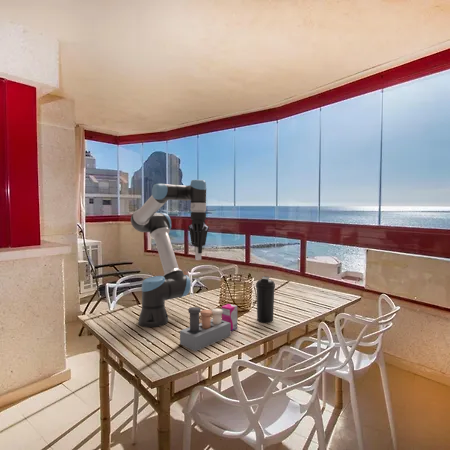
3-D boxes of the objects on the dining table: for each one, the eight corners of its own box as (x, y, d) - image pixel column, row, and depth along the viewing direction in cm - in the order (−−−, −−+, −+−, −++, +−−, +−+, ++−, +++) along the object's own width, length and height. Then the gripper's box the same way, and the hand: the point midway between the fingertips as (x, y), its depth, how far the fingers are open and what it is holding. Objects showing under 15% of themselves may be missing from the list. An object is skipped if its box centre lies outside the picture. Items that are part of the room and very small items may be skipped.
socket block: (179, 344, 128) (179, 330, 128) (215, 329, 144) (215, 317, 144) (195, 351, 121) (195, 337, 121) (230, 335, 137) (230, 322, 137)
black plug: (185, 330, 127) (185, 309, 127) (195, 326, 131) (195, 306, 131) (193, 333, 124) (193, 311, 123) (202, 329, 127) (203, 308, 127)
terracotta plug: (198, 331, 132) (198, 311, 132) (206, 328, 136) (206, 308, 136) (205, 334, 129) (206, 314, 129) (214, 331, 133) (214, 311, 132)
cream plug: (209, 329, 138) (209, 310, 137) (216, 326, 141) (216, 307, 141) (217, 332, 134) (217, 312, 134) (224, 329, 138) (224, 310, 138)
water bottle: (275, 317, 161) (276, 276, 161) (273, 324, 152) (274, 280, 151) (257, 315, 164) (257, 275, 163) (254, 322, 154) (254, 279, 154)
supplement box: (228, 325, 150) (228, 303, 150) (237, 328, 146) (237, 305, 146) (221, 328, 146) (221, 306, 145) (230, 331, 142) (230, 308, 141)
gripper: (183, 211, 145) (183, 259, 146) (201, 211, 136) (201, 262, 137) (195, 211, 150) (195, 257, 151) (213, 211, 142) (213, 260, 142)
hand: (198, 259), depth 144 cm, fingers closed
